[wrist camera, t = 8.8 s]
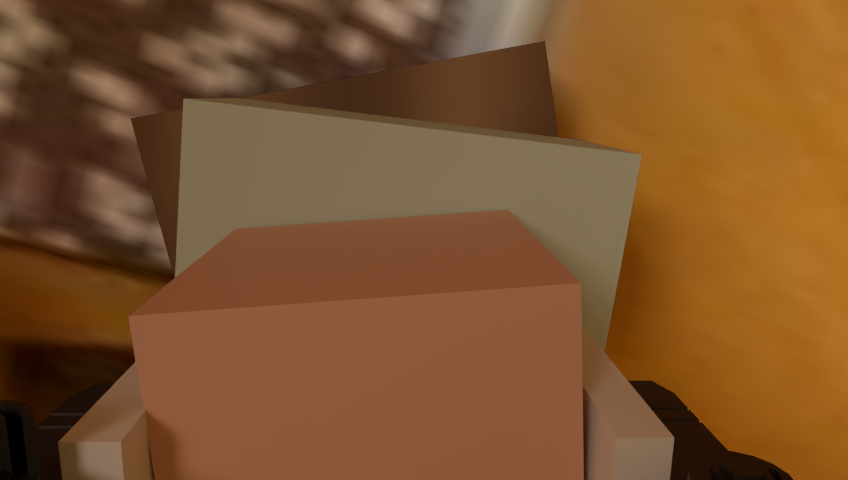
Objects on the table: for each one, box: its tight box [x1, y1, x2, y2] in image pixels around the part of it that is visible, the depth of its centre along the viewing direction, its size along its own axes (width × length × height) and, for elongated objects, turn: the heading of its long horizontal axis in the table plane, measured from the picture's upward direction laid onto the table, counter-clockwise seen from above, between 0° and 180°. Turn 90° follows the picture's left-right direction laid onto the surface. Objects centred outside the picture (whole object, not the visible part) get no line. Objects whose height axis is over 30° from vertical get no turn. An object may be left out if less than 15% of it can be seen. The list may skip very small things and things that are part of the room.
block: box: [128, 210, 584, 480], centre depth 12 cm, size 6×6×6 cm
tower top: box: [175, 98, 642, 352], centre depth 18 cm, size 10×10×5 cm
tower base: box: [131, 41, 558, 278], centre depth 23 cm, size 12×12×5 cm
